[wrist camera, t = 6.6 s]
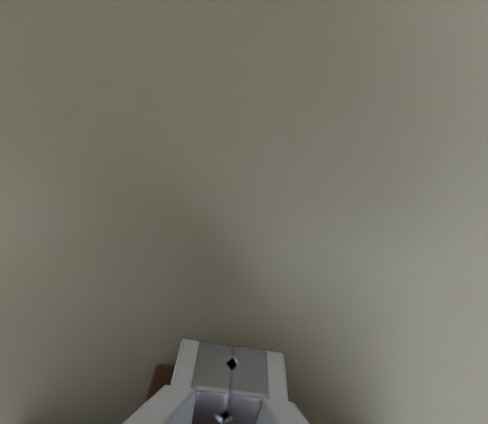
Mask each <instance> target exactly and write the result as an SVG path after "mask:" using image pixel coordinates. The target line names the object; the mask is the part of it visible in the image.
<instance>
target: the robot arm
mask: <svg viewBox="0 0 488 424" xmlns="http://www.w3.org/2000/svg"><path fill="white" fill-rule="evenodd" d="M199 342H200V344H199ZM122 424H309V422H308V421H307V420H306V418H305V417H304V416H303V414H302V413H301V412H300V410H299V409H298V407H297V406H296V405H295V403H294V402H289V401H288V391H287V380H286V370H285V360H284V354H283V353H281V352H274V351H265V350H258V349H251V348H243V347H236V346H227V345H221V344H215V343H209V342H203V341H195V340H189V339H182V341H181V344H180V348H179V352H178V356H177V360H176V364H175V368H174V373H173V377H172V381H171V385H164V386H163V387H162V388H161V389H160V390H159V391H158V392H157V393H155V394H154V395H153V396H152V397H151V398H150V399H149V400H148V401H147V402H145V403H144V404H143V405H142V406H141V407H140V408H139V409H138V410H137V411H136V412H134V413H133V414H132V415H131V416H130V417H129V418H128V419H127V420H126V421H124V422H123V423H122Z"/></svg>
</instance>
